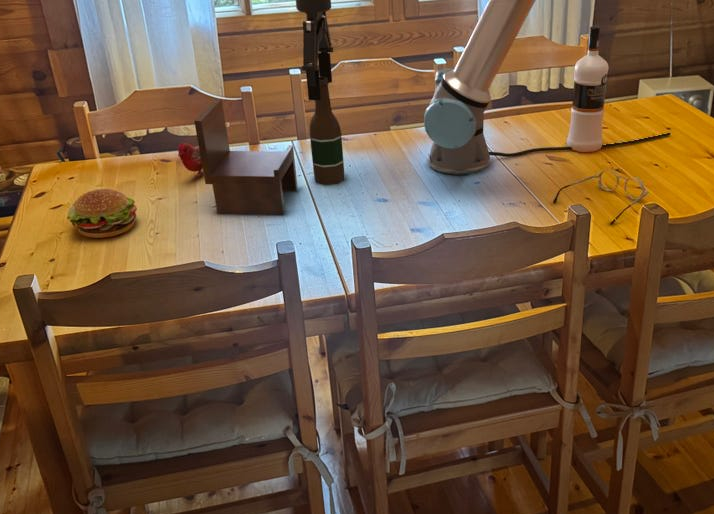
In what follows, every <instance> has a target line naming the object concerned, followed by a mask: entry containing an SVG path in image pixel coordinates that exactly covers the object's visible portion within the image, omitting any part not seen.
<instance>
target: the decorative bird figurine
mask: <svg viewBox="0 0 714 514" xmlns="http://www.w3.org/2000/svg"><path fill="white" fill-rule="evenodd" d="M177 151H178V154H177V155H178V156H177V157H179V158H180V160H181V163H182V165H183V166H184V167H185V169H186V170H187V171H188V172H189V171H190V172H194V173H195V172H196V175H195V176H194V177H193V178H192V180H195V179H198V178H200V176H202V175H203V167H202V162H201V156H200V150H199V145H196V146H192V145H190V143H185V142H181V143H180V144H179V145H178V149H177Z"/></svg>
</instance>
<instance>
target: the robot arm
mask: <svg viewBox="0 0 714 514" xmlns="http://www.w3.org/2000/svg"><path fill="white" fill-rule="evenodd" d="M536 1H537V0H488V1H487V3H486V5H485V7H484V9H483V11H482V13H481V15H480V17H479V19H478V22H477V23H476V25H475V27H474V30H473V32H472V34H471V35H470V38H469V39H468V41H467V43H466V46H465V48H464V50H463V52H462V54H461V55H460V57H459V59H458V62H457V64H456V65H455V67H454V68H453V67H452V68H444V69H443V68H442V69H440V70H437V71H436V73H435V77H434V85H435V89H434V90H435V91H434V94H433V96H432V99H431V100H430V103H429V104H428V106H427V107H426V109H425V111H424V117H423V126H424V130H425V133H426V134H427V136H428V138H429V139H430V140H431V141H432V146H431V149H430V151H429V152H428V153H427V157H428V166H429V167H430V168H431V169H432V170H434V171H436V172H439V173H441V174H446V175H455V176H463V175H472V174H477V173H481V172H483V171H485V170H486V169H488V168H489V167H490V165H491V156H496V157H504V158H513V157H519V156H524V155H526V154H531V153H539V152H556V151H557V152H558V151H559V152H561V151H573V150H572V148H571V147H568V146H552V147H551V146H550V147H549V146H548V147H536V148H529V149H525V150H521V151H518V152H508V153H506V152H498V151H489V148H488V145H487V141H486V138H485V135H484V124H485V123H484V121H485V119H484V117H485V115H484V113H485V111H486V110H487V108H488V106H489V104H490V102H491V101H492V96H491V94H490V90H489V89H490V88H491V85H492V84H493V82H494V80H495V78H496V76H497V74H498V72H499V71H500V68H501V67H502V65H503V63H504V61H505V59H506V57H507V55H508V53H509V51H510V49H511V47H512V46H513V44H514V42H515V40H516V39H517V36H518V35H519V33H520V31H521V29H522V27H523V25H524V23H525V21H526V19H527V17H528V16H529V14H530V12H531V10H532V8H533V7H534V4H535V3H536ZM295 9H296V10H297V11H298V12H300V13H304V14H305V16H306V17H305V18H306V19H305V20H303V21H302V32H303V35H302V37H303V39H302V41H303V42H302V43H303V44H302V46H303V47H302V53H303V55H302V61H303V63H302V66H301V71H302V72H303V71H305V76H306V86H307V96H308V97H307V98H308V101H315V100H321V88H320V77H326V78H327V79H328V82H329V84H330V83H333V76H332V75H333V74H332V61H331V53H333V52H334V46H332V42H331V41H332V40H331V34H330V31H329V29H330V28H329V25H328V18H327V12H328V11H329V12H330V10H331V9H332V0H295ZM666 133H667V132H666ZM671 133H672V132H670V133H667V134H663V133H661V134H662V135H658V134H657V135H658V136H654V135H652V136H653V137H649V136H647V137H648V138H644V137H643V138H644V139H639V138H638V139H639V140H634V139H633V140H634V141H629V140H627V141H628V142H623V141H621V142H622V143H616V142H613V143H614V144H608V143H605V144H606V145H602V147H601V148H600V149H602V148H611V147H618V146H624V145H625V146H627V145H630V144H631V145H632V144H636V143H642V142H645V141H651V140H655V139H659V138H664V137H669V136H671Z"/></svg>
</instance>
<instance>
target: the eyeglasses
mask: <svg viewBox="0 0 714 514" xmlns="http://www.w3.org/2000/svg"><path fill="white" fill-rule="evenodd" d="M604 172H611V173H612V174H614V176H615V178H616V184H615V185H614V189H608V188H606V187H605V185H604V184H603V182H602V176H603V174H604ZM619 178H621V179H624V180H625V182H624V192H625V194H626V196H627V197H628V198H629V199H630V200H632V201H633V202H632V203H630V204H629V205H628V206H627V207H625V208H624V209H623V210H622V211H621V212H620V213H619V214H618V215H617V216H616V217H615V218H614V219H613V220H612V221H610V225H613V224H614V223H615V222H616V221H617V220H618V219H619V218H620V217H621V216H622V214H623V213H624V212H625V211H626V210H628V209H629V208H631V207H632V206H633V205H635V204H637V203H638V202H640V201H641V200H642V199H644V198H645V197H646V196H647V195H648V194H649V193H650V191H649V190H645V184H644V182H642V180H641V179H640V178H638V177H632V176H631V177H629V178H627V177H625V176H622V175H617V172H615V171H614V170H613V169H609V168H608V169H607V168H606V169H604V170H602V171H600V172H599V174H595V175H591V176H588V177H586V178H583V179H580V180H578V181H575V182H572V183H569V184H568V185H564V186H562V187H561V188H559V190H558V192H557V193H556V195H555V197H554V199H553V201H552V204H554V205H555V204H557V201H558V198H559V196H560V193H561V191H563V190H564V189H566V188H570V187H572V186H576V185H579V184H581V183H584V182H587V181H590V180H592V179H597V184H598V186H599V187H600V188H601V190H604V191H606V192H612V191H615V190H616V189H618V186H619V184H620V179H619ZM631 179H633V180H635V181H637V183H638V184H639V187H640V191H642V193H641V194H640V195H639V197H640V198H639V197H637V198H636V197H632V196H631V195H630V194H629V192H628V190H627V183H628V182H629V180H631ZM626 192H627V193H626ZM615 219H616V220H615Z"/></svg>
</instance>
